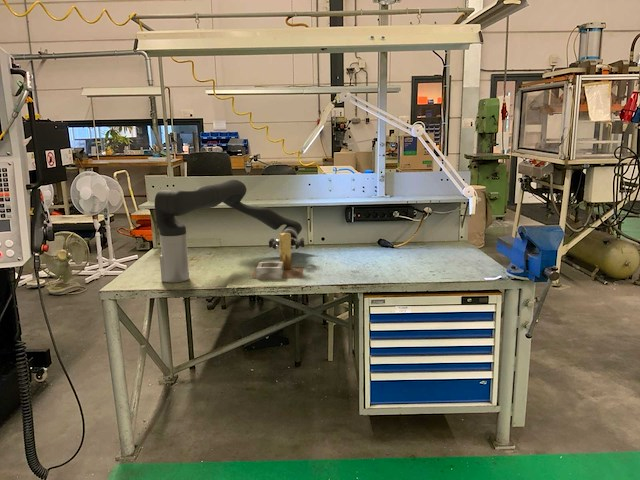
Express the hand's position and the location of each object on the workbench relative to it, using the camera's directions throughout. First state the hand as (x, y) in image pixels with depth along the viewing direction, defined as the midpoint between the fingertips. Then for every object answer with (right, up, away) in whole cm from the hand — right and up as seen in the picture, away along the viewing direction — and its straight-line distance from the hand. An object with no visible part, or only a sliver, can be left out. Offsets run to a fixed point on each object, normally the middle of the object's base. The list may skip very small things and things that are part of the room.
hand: (285, 246), depth 187 cm
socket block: (-2, -11, -6) cm, 13 cm away
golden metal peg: (0, -9, -1) cm, 9 cm away
